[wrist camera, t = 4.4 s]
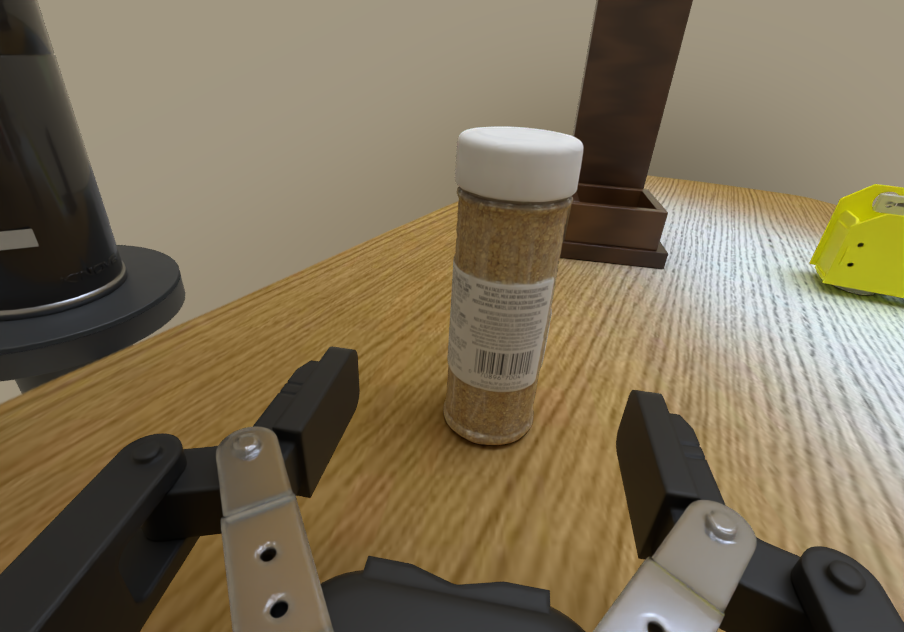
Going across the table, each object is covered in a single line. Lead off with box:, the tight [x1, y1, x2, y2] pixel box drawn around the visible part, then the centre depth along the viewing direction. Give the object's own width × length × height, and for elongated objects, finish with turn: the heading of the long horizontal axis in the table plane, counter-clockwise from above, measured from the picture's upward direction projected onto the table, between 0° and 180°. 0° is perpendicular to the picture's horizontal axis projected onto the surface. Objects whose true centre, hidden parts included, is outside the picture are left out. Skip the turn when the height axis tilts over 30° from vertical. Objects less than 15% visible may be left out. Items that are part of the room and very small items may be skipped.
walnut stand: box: [560, 0, 693, 269], centre depth 42 cm, size 10×12×22 cm
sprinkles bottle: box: [444, 127, 583, 445], centre depth 20 cm, size 5×5×13 cm
